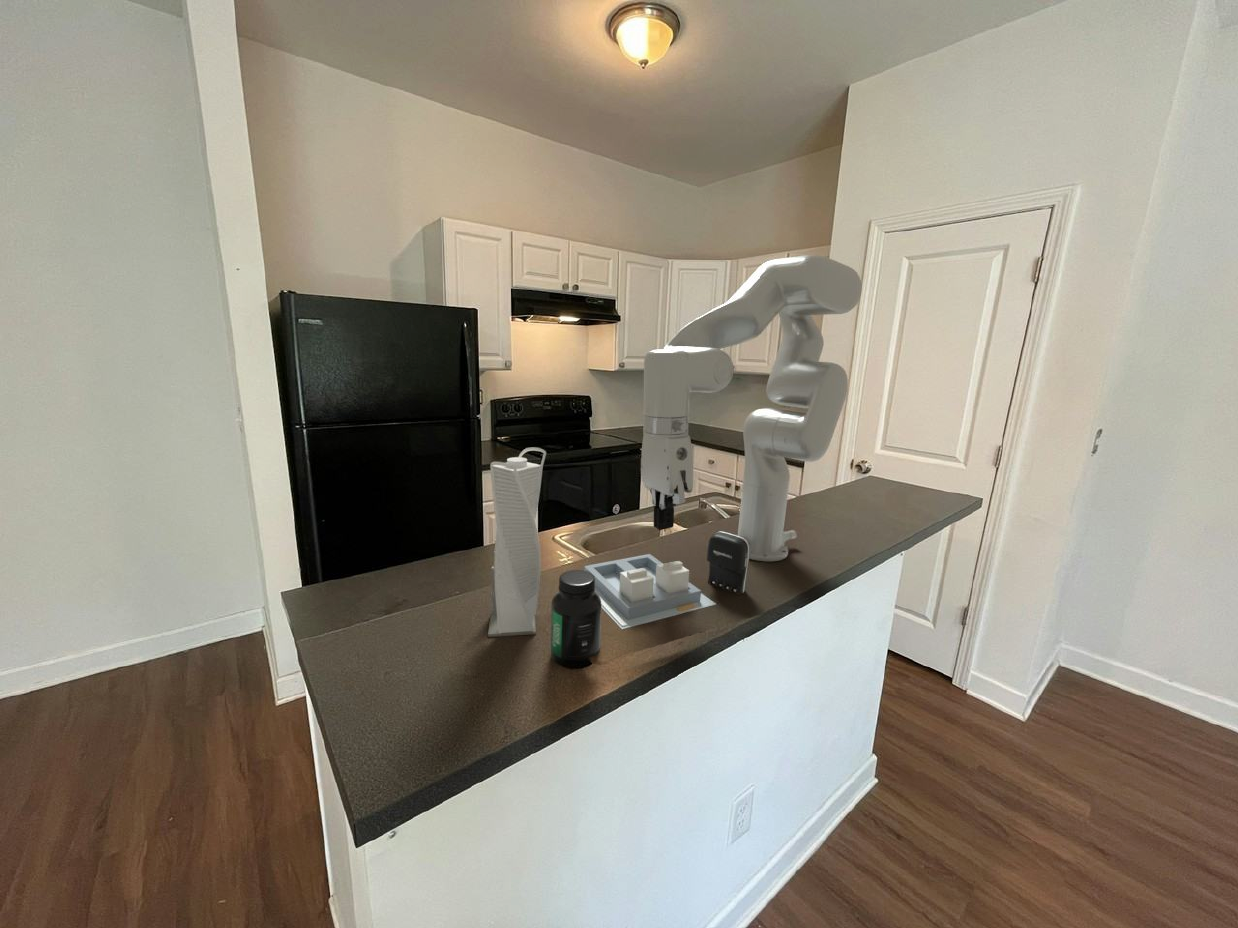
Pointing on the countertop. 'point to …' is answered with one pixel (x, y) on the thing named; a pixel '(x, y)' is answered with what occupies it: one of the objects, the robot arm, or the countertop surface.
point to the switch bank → (646, 609)
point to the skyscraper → (515, 546)
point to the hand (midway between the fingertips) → (663, 527)
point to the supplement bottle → (575, 620)
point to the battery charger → (728, 561)
